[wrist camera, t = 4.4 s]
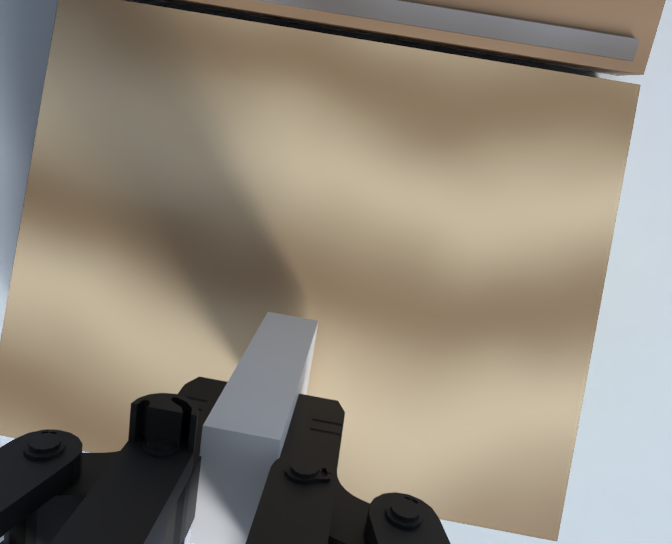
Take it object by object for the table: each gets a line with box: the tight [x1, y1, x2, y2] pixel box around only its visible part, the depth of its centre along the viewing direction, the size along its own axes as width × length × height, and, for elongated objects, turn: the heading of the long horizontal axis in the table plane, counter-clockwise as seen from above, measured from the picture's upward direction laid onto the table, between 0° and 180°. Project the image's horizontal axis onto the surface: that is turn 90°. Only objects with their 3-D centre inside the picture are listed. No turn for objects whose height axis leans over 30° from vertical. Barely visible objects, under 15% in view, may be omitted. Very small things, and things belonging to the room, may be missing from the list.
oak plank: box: [0, 0, 640, 541], centre depth 20 cm, size 14×18×2 cm
